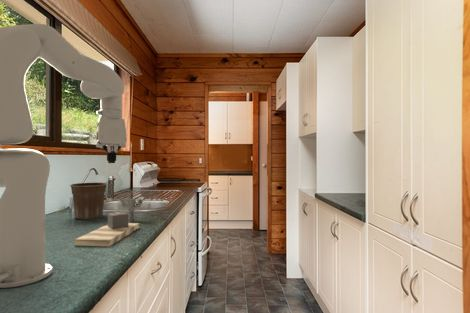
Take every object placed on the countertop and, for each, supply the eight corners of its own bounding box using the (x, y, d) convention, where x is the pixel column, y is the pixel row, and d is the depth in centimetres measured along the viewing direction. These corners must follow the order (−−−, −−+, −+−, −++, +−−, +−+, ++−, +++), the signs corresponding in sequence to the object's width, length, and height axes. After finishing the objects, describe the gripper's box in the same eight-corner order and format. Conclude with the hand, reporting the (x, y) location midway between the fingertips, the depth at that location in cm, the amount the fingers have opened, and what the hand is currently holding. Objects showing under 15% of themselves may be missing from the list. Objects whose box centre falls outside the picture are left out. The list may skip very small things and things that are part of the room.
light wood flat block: (109, 246, 96) (109, 229, 96) (74, 245, 97) (74, 228, 97) (139, 228, 120) (139, 214, 120) (111, 227, 121) (111, 214, 121)
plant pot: (109, 218, 138) (108, 184, 138) (70, 222, 130) (69, 186, 130) (105, 212, 152) (105, 181, 152) (70, 215, 145) (70, 183, 144)
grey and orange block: (128, 226, 114) (128, 213, 114) (112, 229, 110) (112, 215, 110) (122, 223, 118) (122, 211, 118) (107, 226, 115) (107, 212, 115)
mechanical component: (140, 221, 131) (140, 199, 131) (119, 220, 133) (119, 199, 133) (143, 220, 134) (143, 198, 134) (123, 219, 136) (123, 198, 136)
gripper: (93, 112, 103) (93, 163, 104) (134, 115, 113) (134, 162, 113) (87, 114, 109) (87, 163, 109) (127, 117, 119) (127, 162, 119)
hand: (111, 162), depth 111 cm, fingers closed
